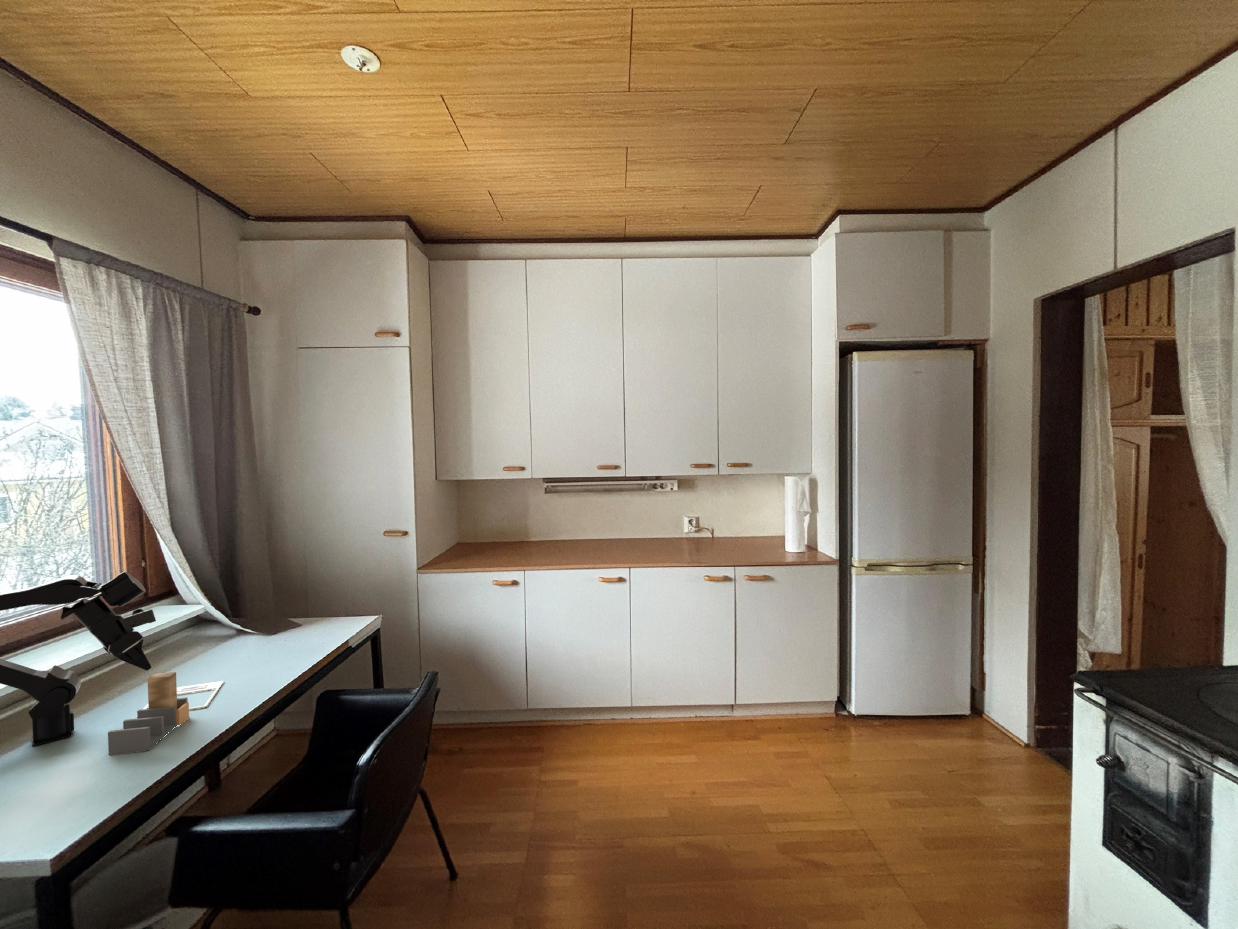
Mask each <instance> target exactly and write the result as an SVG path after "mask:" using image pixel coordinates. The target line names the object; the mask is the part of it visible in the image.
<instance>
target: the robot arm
mask: <svg viewBox="0 0 1238 929" xmlns="http://www.w3.org/2000/svg"><path fill="white" fill-rule="evenodd" d="M146 592H147V591H146V588H145V587H144V585H143V584H142V583H141V582H140V580H138V579H137V578H135V576H133V575H131V574H130V573H128V571H127V570H124V571H122V572H121V573H119V574H117V576H115V577H114V578H112V579H110V580H109V581H107V582H105V583H103V582H102V583H101V582H96V581H90V580H87V579H86V578H84V577H83V576H81V575H78V574H69V575H65V576H62V577H58V578H56V579H52V580H49V581H47V582H44V583H40V584H38V585H33V586H31V587H24V588H21V589H14V590H8V591H3V592H0V612H3V611H7V610H12V609H13V610H14V609H17V608H23V607H29V606H36V605H40V606H53V605H55V606H56V605H64V606H63V607H62V608H61V609H62V611H61V615H60V620H65V619H66V618H68V617H69V616H71V615H73V616H74V617H75V618H76V619H77V620H78V621H79V622H80V623H81V624H82V625H83V627H85V629H86V630H87V631H89V633H90V635H91V634H92V635H93V636H94V637H95V638H96V639H97V640H98V642H100V644H101V645H102V646H103V647H102V649H103V650H104V651H105V652H106V653H107V654H108V655H110V656H112V657H113V658H115V659H117V660H120V661H123V662H124V663H127V664H130V665H132V666H135V667H137V668H139V669H141V670H144V671H149V670H150V669H152V665H151V663H150V661H149V660H148V658H147V656H146V654H145V652H144V650H143V648H142V647H143V644H144V642H145V639H144V636H143V635H142V634H141V633H140V632H139V631H137V630H135V628H137V627H140V626H143V625H146V624H151V623H154V622H155V623H156V622H157V620H156V615H155V613H154V610H153V609H152V608H150V609H147V610H143V609H142V608H141V607H139V608H136V609H134V610H132V612H131V615H128V616H125V617H122V615H120V614H116V612H115V611H114V610H113V609H112V608H111V607H117V606H118V607H123V606H125V605H126V604H128V603H130V602H132V601H133V600H135V599H136V598H138V597H139V596H141V595H143V594H144V593H146ZM99 593H100V594H99ZM95 595H96V596H95ZM101 597H102V598H101ZM88 598H91V599H90V600H89V599H88ZM80 599H81V600H80ZM78 600H79V601H78ZM77 601H78V602H77ZM75 602H76V603H75ZM72 603H73V605H69V604H72ZM110 606H111V607H110ZM0 684H1V685H4V686H7V687H11V688H14V689H18V690H21V691H23V692H24V693H26V694H27V695H28V696H30V697H31V699H33V700H34V701H35V702H34V704H33V705H32V706H31V707H30V709H29V711H28V712H27V713H28V715H29V717H30V718H31V732H32V735H31V746H32V747H36V746H40V745H43V744H47V743H51V742H55V741H58V740H59V741H60V740H61V739H62V740H63V739H66V738H70V737H72V736H73V731H74V732H75V714H74V710H72V709H71V706H70V703H71V701H73V700H74V699H75V697H76V695H77V693H78V691H79V690H80V687H81V686H82V681H81V678H80V677H79V676H78V675H77V674H75V670H67V669H64V668H62V667H61V666H58V665H53V666H52V667H51V669H49V670H40V669H39V670H38V669H34V668H31V667H29V666H25V665H23V664H22V665H21V664H18V663H15V662H12V661H8V660H5V659H3V658H0ZM68 703H69V704H68Z"/></svg>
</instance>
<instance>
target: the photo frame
mask: <svg viewBox="0 0 1238 929" xmlns="http://www.w3.org/2000/svg"><path fill="white" fill-rule="evenodd" d="M223 682H224V683H225V680H220V681H219V680H218V681H214V682H206V683H200V684H193V685H185V686H179V687H177V695H178V694H185V695H189V694H188V693H192V692H199V693H201V692H200V691H206V692H209V691H208V690H212V689H216V690H213V692H212V694H211V695H210V697H209V698H208V699H207V701H206V702H205V703H204V705H199V706H192V707H189V710H191V711H194V710H193V709H198V710H200V709H199V708H203V707H207V706H208V707H209V705H210V704H211V702H212V701H213V700H214V698H215V697H214V696H216V695H217V694H218V692H219V691H220V689H221V688H222V686H223V685H224V684H223ZM222 684H223V685H222ZM221 685H222V686H221ZM220 687H221V688H220ZM219 688H220V689H219ZM218 690H219V691H218ZM217 691H218V692H217ZM216 693H217V694H216ZM192 694H193V693H192ZM215 694H216V695H215ZM178 696H179V695H178ZM213 697H214V698H213ZM212 699H213V700H212ZM211 700H212V701H211ZM209 703H210V704H209ZM148 707H149V705H148V703H147V704H146V705H145V706H144V707H143V709H147V708H148ZM208 707H207V708H208ZM148 709H149V708H148ZM136 718H137V715H136V716H135V718H134V719H136Z"/></svg>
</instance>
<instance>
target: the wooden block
mask: <svg viewBox="0 0 1238 929" xmlns="http://www.w3.org/2000/svg"><path fill="white" fill-rule="evenodd" d="M177 698H178V696H177V671H171V672H170V671H169V672H161V673H159V672H158V673H154V674H152V675H151V676H149V677H148V678H147V699H148V701H147V704H148V705H149V708H148V709H153V708H164V707H174V706H176V710H177Z"/></svg>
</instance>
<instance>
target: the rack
mask: <svg viewBox="0 0 1238 929" xmlns="http://www.w3.org/2000/svg"><path fill="white" fill-rule="evenodd" d="M189 708H190V703H189V700H188V697H177V710H176V706H174V707H164V708H153V709H149V708H148V709H144V708H141V709H138V710H137V711H136V712H137V715H136V716H137V719H136V718H130V719H129V718H128V719H124V720H122V724H123V726H122V729H113V730H109V731H107V747H108V756H113V755H124V754H133V753H141V752H143V753H144V752H148V751H147V750H149V751H151V750H152V749H153V748H154V747H155V746H157V744H156V743H157V742H159V741H160V739H162V738H163V737H164V736H165V735H166V734H168V732H170V731H171V730H172V729H173V728H174V727H176V726H177V725H180V724H182V723H183V722H184V721H186V720H187V719H188V718H189V719H190V711H189ZM189 719H188V720H189ZM188 720H187V721H188ZM187 721H186V722H187ZM182 725H183V724H182ZM176 728H177V727H176ZM170 733H171V732H170ZM168 735H169V734H168ZM163 739H164V738H163ZM163 739H162V740H163ZM160 742H161V741H160ZM160 742H159V743H160ZM154 745H155V746H154ZM153 746H154V747H153ZM152 747H153V748H152ZM151 748H152V749H151ZM150 749H151V750H150Z"/></svg>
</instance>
